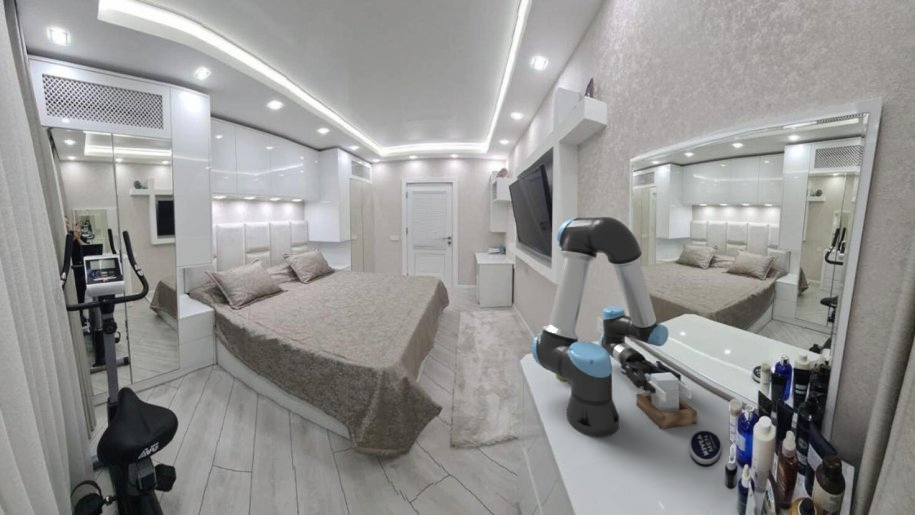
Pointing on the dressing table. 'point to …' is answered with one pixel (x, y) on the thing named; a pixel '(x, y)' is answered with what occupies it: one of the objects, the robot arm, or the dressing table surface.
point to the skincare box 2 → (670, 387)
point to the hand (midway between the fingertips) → (677, 395)
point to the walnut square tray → (667, 413)
